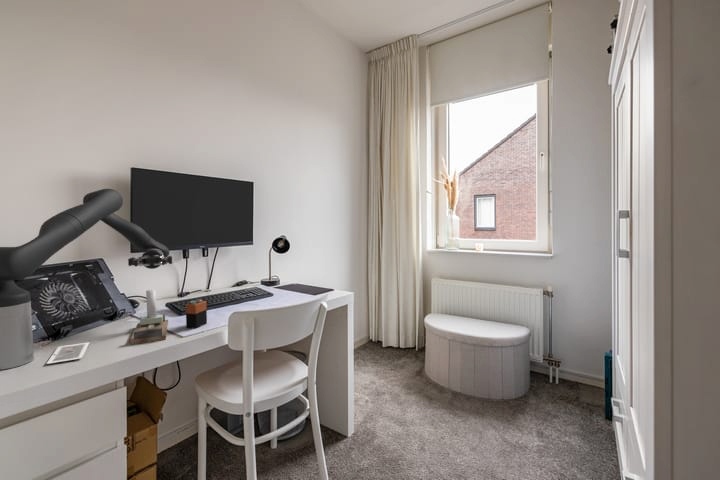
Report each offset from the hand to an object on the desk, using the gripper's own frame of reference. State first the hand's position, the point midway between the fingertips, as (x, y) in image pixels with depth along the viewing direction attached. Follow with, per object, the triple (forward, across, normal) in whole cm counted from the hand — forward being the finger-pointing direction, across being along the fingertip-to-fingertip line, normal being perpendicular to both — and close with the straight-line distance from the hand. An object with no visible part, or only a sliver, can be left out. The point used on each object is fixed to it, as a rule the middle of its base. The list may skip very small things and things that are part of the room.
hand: (149, 262), depth 124 cm
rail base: (+4, 0, +25) cm, 25 cm away
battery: (+2, +15, +25) cm, 29 cm away
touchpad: (+15, -20, +26) cm, 36 cm away
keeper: (-2, 0, +23) cm, 23 cm away
